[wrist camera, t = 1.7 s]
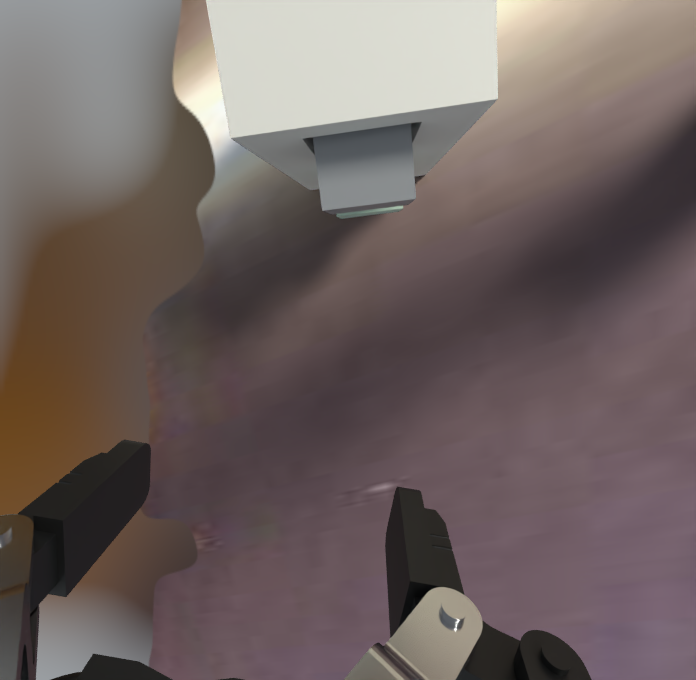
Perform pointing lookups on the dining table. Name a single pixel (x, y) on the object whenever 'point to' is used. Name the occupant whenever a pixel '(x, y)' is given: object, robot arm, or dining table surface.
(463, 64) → the key tower
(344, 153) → the grey square block
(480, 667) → the robot arm
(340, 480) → the dining table surface
